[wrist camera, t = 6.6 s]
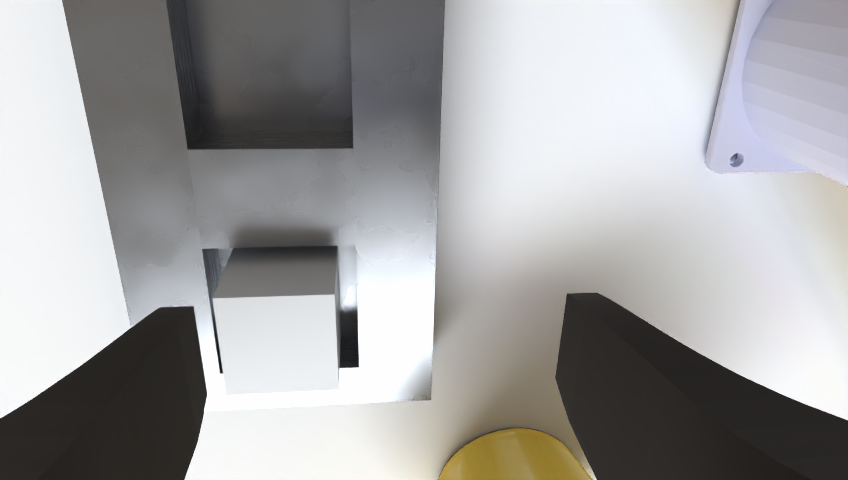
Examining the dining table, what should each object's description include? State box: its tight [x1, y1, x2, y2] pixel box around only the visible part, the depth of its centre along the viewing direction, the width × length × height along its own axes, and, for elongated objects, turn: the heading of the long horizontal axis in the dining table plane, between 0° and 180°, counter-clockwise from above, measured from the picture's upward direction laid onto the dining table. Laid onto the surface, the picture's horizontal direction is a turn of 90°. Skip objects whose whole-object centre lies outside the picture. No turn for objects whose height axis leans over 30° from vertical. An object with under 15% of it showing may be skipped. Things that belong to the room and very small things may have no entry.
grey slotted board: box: [62, 0, 445, 411], centre depth 18 cm, size 10×24×2 cm, turn 179°
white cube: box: [212, 246, 341, 395], centre depth 20 cm, size 4×4×4 cm
